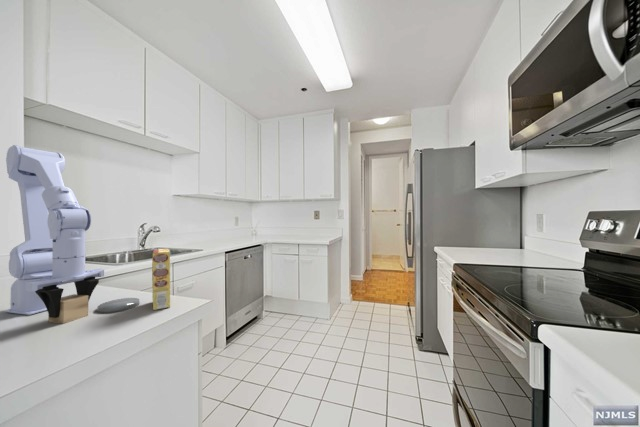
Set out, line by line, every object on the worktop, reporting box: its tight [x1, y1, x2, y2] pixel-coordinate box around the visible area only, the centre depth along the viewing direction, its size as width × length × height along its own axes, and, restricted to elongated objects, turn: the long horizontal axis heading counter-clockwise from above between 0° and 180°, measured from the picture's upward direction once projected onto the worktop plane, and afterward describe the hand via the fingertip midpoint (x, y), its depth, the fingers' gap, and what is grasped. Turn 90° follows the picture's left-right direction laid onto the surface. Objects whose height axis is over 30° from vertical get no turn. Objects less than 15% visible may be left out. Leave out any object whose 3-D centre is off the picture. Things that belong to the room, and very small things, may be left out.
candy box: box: [151, 248, 171, 311], centre depth 70 cm, size 9×4×15 cm, turn 33°
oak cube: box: [47, 293, 89, 325], centre depth 61 cm, size 5×5×5 cm
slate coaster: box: [96, 297, 140, 314], centre depth 68 cm, size 9×9×1 cm
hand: (68, 312), depth 60 cm, fingers closed on oak cube, 5 cm apart
